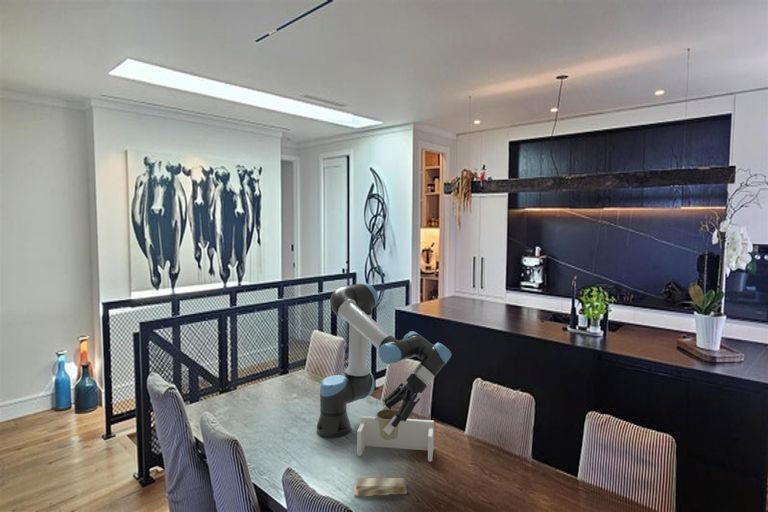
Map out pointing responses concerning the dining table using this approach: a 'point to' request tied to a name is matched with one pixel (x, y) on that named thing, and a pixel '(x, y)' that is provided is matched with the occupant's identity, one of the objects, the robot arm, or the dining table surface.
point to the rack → (409, 436)
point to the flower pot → (384, 419)
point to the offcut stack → (379, 486)
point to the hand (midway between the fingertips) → (381, 426)
